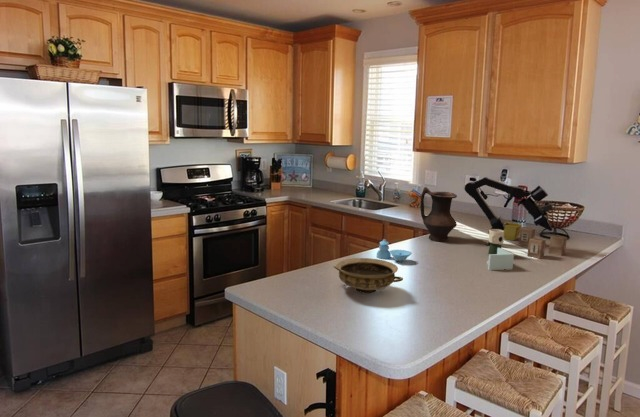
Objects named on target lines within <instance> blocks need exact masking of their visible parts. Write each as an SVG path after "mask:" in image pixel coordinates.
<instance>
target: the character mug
mask: <svg viewBox="0 0 640 417" xmlns="http://www.w3.org/2000/svg"><path fill="white" fill-rule="evenodd" d="M488 232H489V233H488V240H489V242H490V243H491V244H490V246H488V247H489V248H488V252H487V254H488V255H489V254H497V248H501V249H502V245H503V244H504V240H505V238H504V231H503V230H499V229H491V228H489V230H488ZM500 244H502V245H500Z"/></svg>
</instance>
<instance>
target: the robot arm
mask: <svg viewBox="0 0 640 417" xmlns="http://www.w3.org/2000/svg"><path fill="white" fill-rule="evenodd" d="M484 186H487V187H490V188H494V189H495V190H498V191H501V192H504V193H507V194H508V195H509V196H511V197H512V198H514V199H516V200H517V207H519V206H520V205H521V206H522V207H523V208H524V209H525V210H526V211H527V213H528V215H530V216H532V218H533V224H534V225H535V226H536V227H537V226H540V227H542V228H543V229H547V230H548V231H550V232H552V231H553V227H552V225H551V224H550V223H549V220H548V218H549V215H548V214H549V213H548V212H551V211H554V206H553V204H552V203H550V202H544V205H542V206H540V205H539V204H537V202H541V201H542V200H544V199H545V198H546V197H548V196H549V194H548V192H547V191H546V190H545V189H543V187H541V185H537V186H536V187H535V188H534V189H533V190H526V189H525V188H523V187H522V186H516V185H509V184H506V183H504V182H501V181H498V180H494V179H491V178H488V177H487V176H485V177H483V178H481V179H479V180H476V181H469V182H467V183H466V184H465V185H464V187H463V188H464V191H465V193H466V194H468V195H469V196H470V197H471V198H472V199H474V201H475V202H476V204H477V205H478V206H479V208H480V209H481V211H482V212H483V213H484V215H485V216H486V218H487V219H488V221H489V224H490V226H491V228H490V229H499V230H504V229H505V224H504V223H506V221H505V220H503V218H502V216H499V217H498V216H497V215H496V214H495V213H494V211H493V210H492V208H491V207H490V205H488V203H487V201H485V199H484V197H483V196H482V195H481V192H480V190H479V188H481V187H484ZM526 197H527V198H526ZM488 234H489V231H488ZM490 244H491V243H490V242H489V239H488V242H487V243H485V245H486V246H488V247H490ZM500 245H501V246H502V245H503V244H500Z"/></svg>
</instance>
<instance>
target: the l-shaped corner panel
mask: <svg viewBox="0 0 640 417" xmlns="http://www.w3.org/2000/svg"><path fill="white" fill-rule="evenodd" d="M514 256H515V253H512V252H510V251H507V250H505V249H503V248H502V247H501V248H497V254H488V260H487V261H486V266H487V270H488V271H498V270H499V271H500V270H501V271H502V270H504V269H506V270H513V267H514Z"/></svg>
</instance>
